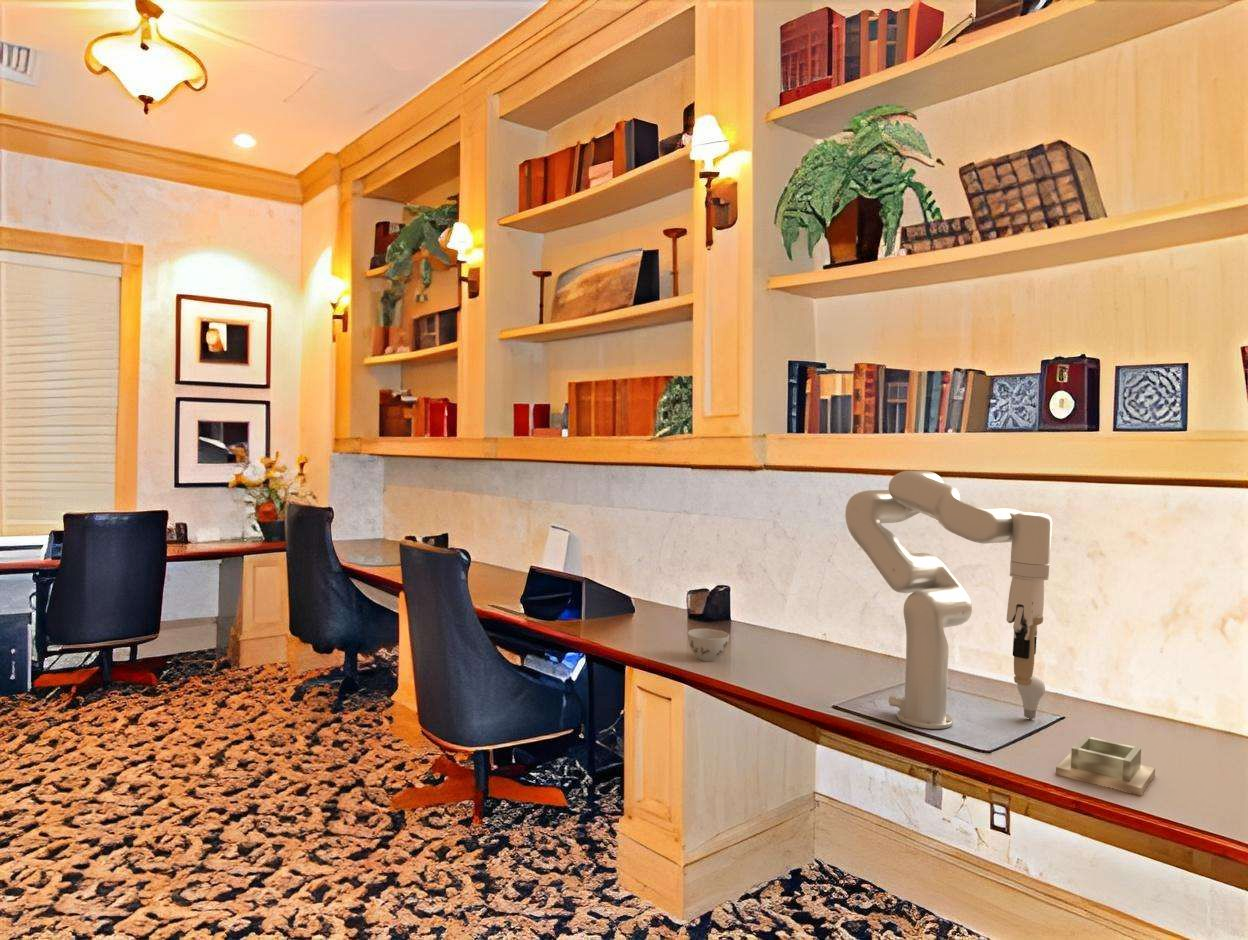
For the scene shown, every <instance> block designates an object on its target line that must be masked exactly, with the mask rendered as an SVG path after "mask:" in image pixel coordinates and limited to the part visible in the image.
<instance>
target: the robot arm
mask: <svg viewBox="0 0 1248 940" xmlns="http://www.w3.org/2000/svg"><path fill="white" fill-rule="evenodd" d="M920 513H921V514H922V515H924V516H925V515H926V516H928V517H930V518H932V519H935V520H937V522H938V524H940V525H941V526H942V527H943V528H944V529H945V530H947V531H948V532H950V533H951V534H954V535H956V536H959V537H961V538H963V539H965V540H968V541H970V542H972V543H973V542H974V543H977V544H994V543H995V544H997V543H1000V544H1001V543H1011V545H1010V546H1011V547H1010V549H1011V551H1010V563H1009V576H1010V577H1011V582H1010V587H1009V594H1008V599H1007V600H1008V601H1007V611H1006V622H1007V623H1008V624H1013V626H1012V628H1013V640H1012V642H1013V643H1012V657H1013V658H1014V657H1019V658H1024V659H1028V658H1029V653H1030V640H1028V639H1029V631H1030V626H1031V625H1033V623H1034V618H1036V617H1038V616H1043V617H1044V602H1045V581H1048V580H1049V576H1050V560H1051V559H1050V558H1051V547H1052V544H1051V543H1052V529H1053V528H1052V526H1053V521H1052V520H1053V519H1052V518H1051V516H1049V514H1045V513H1041V512H1029V511H1028V512H1027V511H1025V512H1024V511H1020V510H1017V509H1013V508H1007V507H1006V508H1004V507H1001V508H999V507H998V508H980V507H977V506H974V505H971V504H968V503H966V502H963V501H961V496H960V493H959V491H958V489H957V488H956V487H954V486H952V485H949V484H946V483H945V482H944V480H943V479H942V477H941V476H940V475H938V474H937V473H935V472H933V471H929V470H903V471H901V472H898V473H896V474H895V475H894V476H892V478H891V479H890V480H889V483H888V489H882V490H881V489H880V490H878V489H876V490H875V489H874V490H873V489H872V490H864V491H859V492H857V493H855V494H853V495H852V496H850V498H849V500H848V501H847V504H846V507H845V514H844V516H845V517H844V518H845V524H846V526H847V529H848V532H849V533H850V535H851V537H852V539H854V541H855V543H857V545H858V546H859V547H860V548H861V549H862V551H864V553H865V554H866V555H867V557H868V558H869V559H870V561H871V562H872V563H873V566H875V568H876V570H877V571H878V572H879V574H880V575H881V576H882V578H883V579H884V580H885V582H886V584H887V585H889V587H890V588H891V589H892V590H893V591H894V592H896V593H900V594H909V593H910V594H909V595H908V596H907V597H906V599H905V601H904V604H903V608H902V609H903V618H904V625H905V635H906V636H905V637H906V640H905V641H906V643H905V647H906V649H905V671H904V672H905V673H904V674H905V677H904V696H903V697H902V698H901V697H898V696H896V695H889V697H888V704H889V706H891V707H896V708H898V709H899V710H898V711H897V713H896V717H897V720H898V721H900V722H902V723H904V724H906V725H909V726H913V727H917V728H922V729H929V730H930V729H932V730H939V729H940V730H942V729H947V728H950V727H952V726H953V724H954V719H953V717H951V715H949V714H947V702H948V701H947V697H948V678H949V677H948V675H949V673H948V672H949V643H948V640H947V638H946V637H947V636H946V634H945V631H944V629H945V628H949V627H950V628H951V627H956V626H961V625H962V624H964V623H966V622H967V621H969V619H970V618H971V615H972V612H973V606H972V602H971V599H970V597H969V594H968V593H967V591H966V590H965V589H964V588H963V586H962V585H961V583H959V581H958V580H957V579H956V578H955V576H954V575H953V574H952V572H951V571H950V569H949V568H948V567H947V566H946V565H945V563H943V561H941V560H940V558H939V557H936V556H935V555H934V554H931V553H926V552H916V553H915V552H914V553H913V552H910V551H909V550H908V549H906V547H905V546H904V545H903V544H902V543H901V541H900V539H899V538H898V537H897V536H896V535H895V534H894V533H893V532H892V531H890V530H889V529H887V528H886V527H884V525H883V524H896V523H900V522H904V521H906V520H909V519H911V518H912V517H914V516H916V515H918V514H920ZM1015 615H1016V616H1015ZM1014 616H1015V619H1013V618H1014ZM1014 620H1015V621H1014ZM1022 621H1023V622H1026V624H1027V625H1024V624H1022ZM1022 627H1024V628H1026V629H1025V630H1024V629H1023V628H1022ZM1037 636H1038V625H1037V626H1035V632H1034V656H1035V655H1036V652H1037Z"/></svg>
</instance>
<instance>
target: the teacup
mask: <svg viewBox="0 0 1248 940" xmlns="http://www.w3.org/2000/svg"><path fill="white" fill-rule="evenodd" d="M687 638H688V645H689V646H690V647H689V648H690V650H691V651H692V653H693V654H694V656H695V657H696V658H697V659H698V660H700V661H703V662H715V661H717V660H718V659H719V658H720V657H721V656H723V654H725V651H726V649H727V647H728V645H729V642H730V634H729V633H727V632H726V631H724V630H717V629H712V628H694V629H690V630H688V632H687Z"/></svg>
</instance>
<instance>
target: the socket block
mask: <svg viewBox="0 0 1248 940" xmlns="http://www.w3.org/2000/svg"><path fill="white" fill-rule="evenodd" d="M1141 761H1142V747H1138V746H1134V745H1129V744H1124V743H1120V742H1115V741H1111V740H1106V739H1103V738H1097V737H1093V736H1088V735H1084V736H1082V737H1081V738H1080V739H1079V741H1077V742H1076V743H1075V744H1074V745H1073V746H1071V752H1070V753H1068V755H1067V756H1065V757H1064V758H1063V760H1062V761H1060V763H1058V764H1057V765H1056V766H1055V775H1058V776H1061V777H1065V778H1069V779H1073V780H1076V781H1081V782H1085V783H1088V784H1092V785H1096V784H1097V785H1096V786H1100V785H1101V786H1100V787H1104V786H1105V787H1104V788H1108V787H1110V788H1109V789H1112V788H1114V789H1113V790H1116V789H1118V790H1117V791H1120V790H1123V791H1122V792H1124V791H1126V792H1125V793H1128V792H1130V793H1129V794H1132V793H1133V795H1136V794H1137V795H1136V796H1140V795H1141V796H1142V795H1143V793H1144V792H1145V791H1146V789H1147V787H1148V786H1149V785H1150V783H1151V782H1152V780H1153V779H1154V777H1155V775H1156V768H1155V767H1152V766H1147V765H1143V764H1141Z"/></svg>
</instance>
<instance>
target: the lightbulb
mask: <svg viewBox="0 0 1248 940" xmlns="http://www.w3.org/2000/svg"><path fill="white" fill-rule="evenodd" d="M1031 679H1032V681H1031V684H1030V685H1028V686H1025V685H1019V684H1017V683H1016V686H1017V687H1016V688H1017V692H1018V693H1019V695H1020V697H1021V700H1022V706H1023V716H1024V717H1025V718H1026V719H1027V718H1029V719H1032V720H1033V719H1036V716H1037V710H1038V707H1039V706H1038V705H1039V702H1040V700H1041V699H1042V697H1043V695H1044V694H1045V693H1046V686H1045V683H1044V681H1043V679H1042V678H1041V677H1039V676H1038V675H1035V674H1032V677H1031ZM1029 719H1028V720H1029Z"/></svg>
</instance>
